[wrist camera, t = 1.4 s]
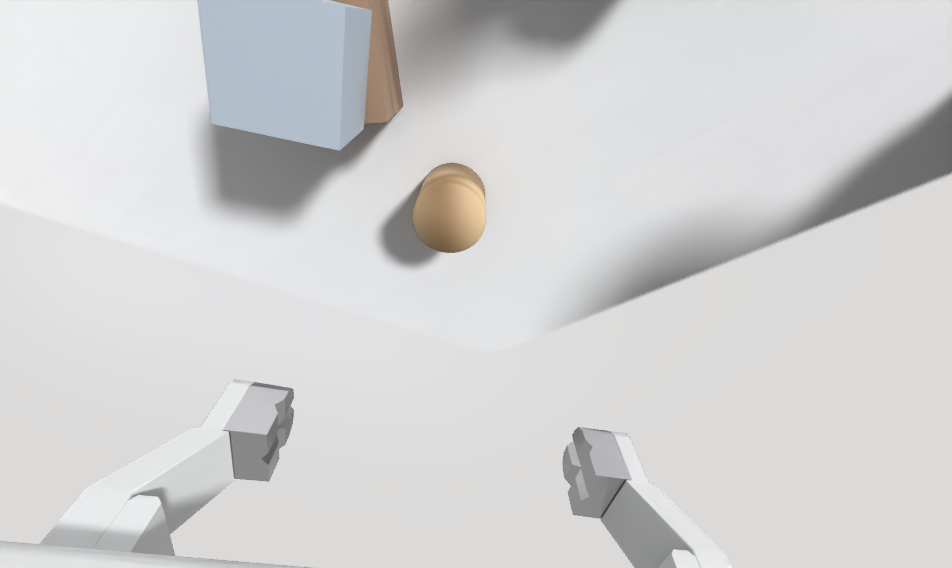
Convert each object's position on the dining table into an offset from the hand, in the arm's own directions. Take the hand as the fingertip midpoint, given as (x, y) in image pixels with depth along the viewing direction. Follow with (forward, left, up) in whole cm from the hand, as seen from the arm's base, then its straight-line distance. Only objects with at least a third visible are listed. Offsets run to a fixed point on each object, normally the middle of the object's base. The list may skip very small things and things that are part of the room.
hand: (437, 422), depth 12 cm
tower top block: (+9, -7, -18) cm, 21 cm away
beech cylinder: (+1, +2, -24) cm, 24 cm away
